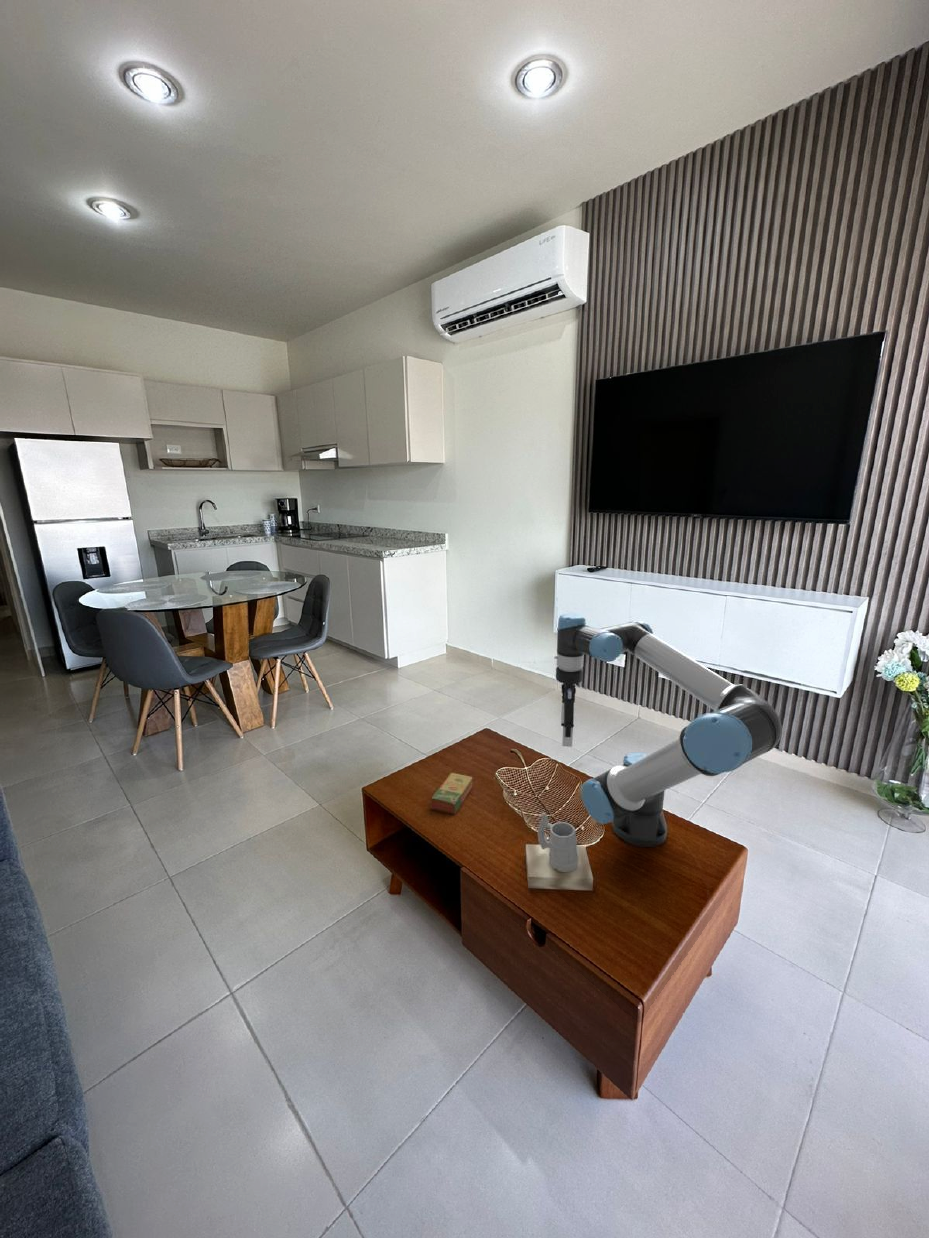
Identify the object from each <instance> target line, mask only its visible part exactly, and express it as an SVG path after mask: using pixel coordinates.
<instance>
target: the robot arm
mask: <svg viewBox="0 0 929 1238" xmlns="http://www.w3.org/2000/svg"><path fill="white" fill-rule="evenodd" d="M558 617H559V618H558V621H557V629H556V630H557V637H556V638H557V640H556V641H557V642H556V645H557V646H556V655H554V659H555V660H556V668H555V679H556V681H557V682H559V683H561V687H560V688H561V699H562V701H561V714H560V715H561V718H560V719H561V720H560V726H561V727H562V739H561V740H562V743H561V744H562V747H567V748H568V747H569V748H572V747H573V735H574V734H573V733H574V726H575V724H574V719H575V717H574V716H575V715H574V714H575V713H574V712H575V707H574V705H575V701H576V693H577V689H576V684H580V683H581V682H582V681H583V674H584V673H583V672H584V670H583V667H584V660H585V659H584V657H585V655H586V656H590V657H591V658H594V659H596V660H599V661H603V662H608V663H609V662H611V663H612V662H614V661H615V660H616V659H617V658H619V657H620V655H621V654H622V653H625V652H628V653H629V654H631V655H632V656H634V657H636V658H637V659H639V660H640V661H641V662H643V663H645V664H646V665H648V666H649V667H650V668H652V669H654V670H655V671H656V672H658V673H659V674H661V675H662V676H664V677H665V678H666V679H668V680H669V681H671V682H672V683H673V684H674V685H675V684H676V685H677V686H679V688H680V689H682V690H684V691H685V692H686V693H689V694H690V695H691V696H693V697H694V698H695V699H697V700H699V702H701V703H703V704H705V705H706V706H707V707H709V708H710V709H712V710H713V711H711V712H708V713H707V712H706V713H704V714H701V715H699V716H697V717H696V718H694V719H693V720H692V721H691V722H690V723H689V724H688V725H686V726H685V727H683V728H682V730H681V731H680V733H679V736H678V739H676V740H674V741H672V742H670V743H668V744H667V745H665V746H663V747H661V748H659V749H658V750H655V751H654V752H652V753H651V754H646V753H642V752H631V753H627V754H625V755H624V757H623V759H622V763H623V764H622V765H617V766H614V767H612V768H610V769H608V770H606V771H605V772H603V773H601V774H599V775H598V776H595V777H592V778H589V779H587V780H586V781H585V782H583V783H582V785H581V788H580V793H581V801H582V804H583V806H584V808H585V809H586V811H587V813H588V815H589V816H590V818H592V819H594V821H596V823H599V824H601V825H605V824H606V825H607V824H608V823H612V829H613V832H614V833H615V834H616V836H617V837H618V838H620V839H622V841H624V842H626V843H628V844H631V845H633V846H637V847H641V848H653V847H656V846H657V847H658V846H660V845H661V844H663V843H664V842H665V841H666V839H667V834H668V826H667V823H666V819H665V815H664V811H663V807H664V800H665V791H666V790H668V789H671V788H674V787H675V786H678V785H680V784H682V783H685V782H686V781H688V780H691V779H692V778H695V777H697V776H699V775H703V776H706V777H716V776H718V775H721V774H724V773H729V772H732V771H735V770H737V769H738V768H740V767H741V766H743V765H744V764H746V763H748V762H751V761H752V760H754V759H755V758H758V757H760V756H762V755H763V754H766V753H768V752H770V751H771V750H773V749H774V748H775V747H776V746H777V745H778V743H779V742H780V739H781V737H782V731H783V730H782V729H783V726H782V721H781V718H780V715H778V713H777V712H776V709H774V707H773V706H772V705H771V704H770V703H769V702H768V701H767V700H766V699H765V698H763V696H761V695H759V694H758V693H756V692H755V691H753V690H752V689H750V688H748V687H747V686H745V685H744V684H741V683H740V684H733V683H731V681H729V680H727V679H725V678H724V677H722V676H721V675H719V674H718V673H716V672H714V671H712V670H711V669H709V668H708V667H706V666H704V665H702V664H701V663H699V662H698V661H696V660H695V659H693V658H691V657H689V656H688V655H686V654H685V653H683V652H682V651H679V650H678V649H677V648H675V647H674V646H672V645H670V644H669V643H667V642H666V641H663V640H662V639H660V638H659V637H657V636H655V635H654V632H653V629H652V628H651V626H650V625H649V624H648V623H647V622H646V621H642V620H641V621H640V620H636V621H633V620H632V621H629V622H625V623H620V624H617V625H612V626H607V627H601V628H595V627H592V626H590V625H586V624H587V622H586V617H585V616H584V615H583V614H580V613H576V612H575V613H574V612H573V613H571V612H569V613H568V612H567V613H564V614H563V613H562V614H561V615H559V616H558Z"/></svg>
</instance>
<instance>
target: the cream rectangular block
mask: <svg viewBox="0 0 929 1238" xmlns="http://www.w3.org/2000/svg"><path fill="white" fill-rule="evenodd" d="M549 852H550V848H545V849H542V848H541V845H540V844H533V843H532V844H530V843H528V844H525V863H526V874H527V876H526V877H527V886H528V889H546V890H548V889H550V890H566V891H567V890H574V891H593V890H594V889H593V887H594V877H593V873H592V868H591V864H590V861H589V856H588V853H587V848H586V846H585V845H577V853H578V856H579V861H578V865H577V867H576V869H574V870H573V871H570V872H569V871H568V872H560V871H558V870H557V869H554V868H553V867H552V866H551V864H550V861H549Z"/></svg>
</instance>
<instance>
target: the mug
mask: <svg viewBox="0 0 929 1238" xmlns="http://www.w3.org/2000/svg"><path fill="white" fill-rule="evenodd" d="M546 829H548V830H549V837H548V839H547V837H546V835H545V833H546V832H545V830H546ZM537 838H538V839H537V840H538V845H541V848H542V849H545V848H550V852H549V861H550V864H551V866H552V867H553V868H554V869H557V870H558V871H560V872H568V871H569V872H570V871H573V870H574V869H576V867H577V865H578V861H579V856H578V853H577V846H578V839H577V835H576V828H575V827H574V825H573V824H570V823H568V822H565V821H559V822H555V823H553V824H552V823H550V822H549V819H548V815H547V814H546V812H544V811H543V812H542V813H541V818H540V822H539V825H538V829H537Z"/></svg>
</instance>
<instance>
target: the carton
mask: <svg viewBox="0 0 929 1238" xmlns="http://www.w3.org/2000/svg"><path fill="white" fill-rule="evenodd" d="M473 787H474V786H473V777H472V776H468V775H463V774H460V773H454V772H450V773H449V774H448V776H447V777H446V778H445V779H444V781H443V782H442V783H441V785H440V786H439V788H438V789H437V790H436V791H435V793H434V794H433V795H432V797H431V798H430V799H431V800H430V802H431V803H430V809H432V810H436V811H440V812H445V813H449V814H453V815H455V814H457V813H458V812H457V811H458V810H459V808H460V807H461V806H462V804H463V802H464V801H465V799H466V798H467V796H468V795H469V793H470V792H471V790H472V789H473Z"/></svg>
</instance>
